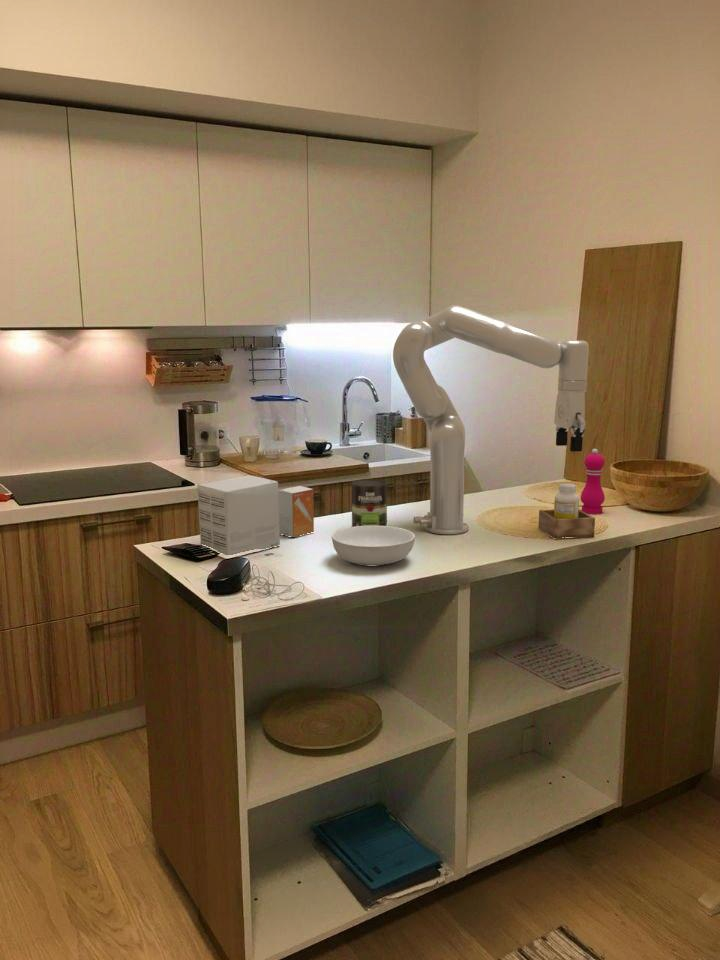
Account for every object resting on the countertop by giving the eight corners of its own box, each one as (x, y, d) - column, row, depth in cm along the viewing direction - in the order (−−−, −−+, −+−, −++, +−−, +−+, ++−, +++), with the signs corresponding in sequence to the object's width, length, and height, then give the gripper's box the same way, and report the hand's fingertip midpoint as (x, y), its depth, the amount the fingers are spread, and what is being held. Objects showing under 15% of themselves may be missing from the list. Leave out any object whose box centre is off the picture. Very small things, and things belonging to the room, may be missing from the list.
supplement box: (251, 537, 225) (249, 474, 221) (281, 547, 216) (279, 481, 212) (198, 550, 213) (195, 483, 210) (228, 561, 204) (225, 491, 200)
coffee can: (388, 534, 227) (388, 485, 224) (352, 535, 227) (351, 486, 224) (386, 525, 237) (386, 478, 234) (351, 526, 237) (350, 479, 234)
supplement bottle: (562, 525, 232) (564, 481, 229) (582, 529, 227) (584, 485, 224) (548, 529, 227) (550, 484, 225) (568, 534, 222) (570, 488, 220)
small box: (293, 538, 224) (292, 493, 221) (278, 534, 228) (277, 489, 225) (314, 533, 229) (313, 488, 227) (300, 529, 234) (299, 485, 231)
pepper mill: (606, 514, 248) (610, 450, 244) (583, 514, 248) (586, 450, 244) (600, 509, 255) (603, 446, 251) (577, 509, 255) (580, 446, 251)
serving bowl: (431, 560, 203) (432, 534, 202) (373, 579, 189) (373, 551, 187) (373, 544, 218) (373, 520, 216) (314, 561, 203) (314, 535, 202)
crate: (554, 539, 221) (555, 520, 220) (538, 528, 232) (539, 510, 231) (594, 537, 223) (595, 518, 222) (576, 526, 234) (577, 508, 233)
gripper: (546, 383, 227) (543, 443, 230) (572, 389, 210) (568, 453, 214) (572, 383, 228) (568, 443, 232) (599, 389, 211) (595, 453, 215)
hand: (568, 448), depth 223 cm, fingers open, 9 cm apart
